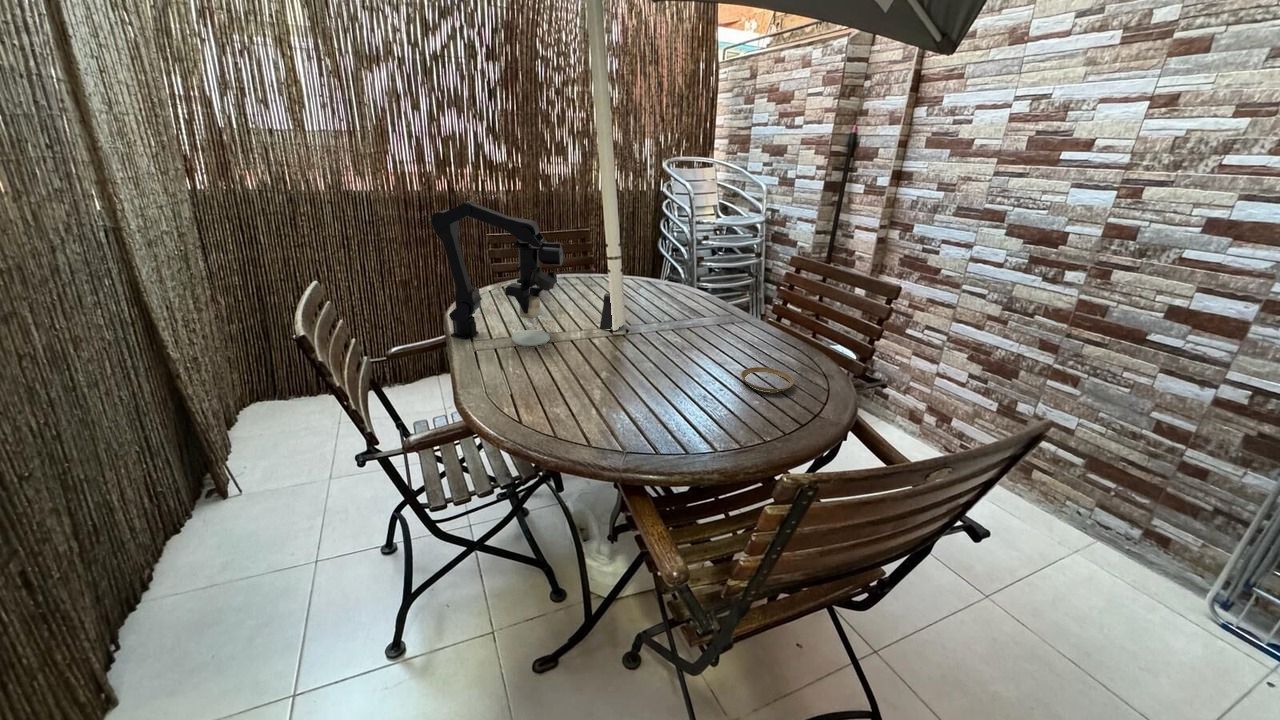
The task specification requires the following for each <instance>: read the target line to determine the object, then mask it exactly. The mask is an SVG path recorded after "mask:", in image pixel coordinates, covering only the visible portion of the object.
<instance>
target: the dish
mask: <svg viewBox="0 0 1280 720" xmlns="http://www.w3.org/2000/svg"><path fill="white" fill-rule="evenodd" d="M511 341H513V342H514V343H515V344H514V343H513V342H512V343H513V344H514V345H516V344H518V346H520V345H522V346H521V347H526V346H534V347H539V346H538V345H541V346H543V345H542V344H544V345H546V344H548V343H549V342H550V334H549V333H548V332H545V331H543V330H537V329H526V330H520V331H517V332H514V333H513V334H512V335H511ZM548 341H549V342H548ZM547 342H548V343H547ZM545 343H546V344H545Z"/></svg>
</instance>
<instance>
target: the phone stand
mask: <svg viewBox="0 0 1280 720" xmlns="http://www.w3.org/2000/svg"><path fill="white" fill-rule="evenodd" d="M610 294H611V293H604V295H603V306H602V310H601V311H602V312H601V318H600V325H599V330H600V329H611V327H612V315H611V303H610Z"/></svg>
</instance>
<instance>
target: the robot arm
mask: <svg viewBox="0 0 1280 720" xmlns="http://www.w3.org/2000/svg"><path fill="white" fill-rule="evenodd" d="M468 217H470V218H471V219H474V220H476V221H480V222H483V223H486V224H487V225H489V226H490V225H491V226H493V227H495V228H499V229H501V230H503V231H505V232H507V233H508V234H510V235H511V236H512V237H514V238H516V241H515V242H514V243H513V244H512V245H511V248H512V249H518V265H517V266H516V271H518V272H519V278H518V279H516V283H512V284H510V285H507V286H506V287H505V288H504V293H505V294H504V295H505V296H508V297H514V298H515V300H516V301H517V303H518V305H519V307H520V306H521V308H522V310H523V312H524V313H525V314H527V313H528V307H529V298H530V297H531V296H535V297H540V296H541V293H542V292H543V291H546V292H549V291H550V290H552V289H554V287H555V284H556V283H558V280H557V279H558V277H557V272H556V271H555V270H552V271H549V272H546V271H545V272H544V271H543V269H542V266H541V265H539V262H540V263H542V265H549V266H562V265H563V262H564V251H563V247H562V242H560V241H559V242H558V241H557V242H548V241H547V240H546V239H545V237H544V235H542V233H541V232H540V227H539V225H538V223H537V222H536V221H534V220H532V219H526V218H524V217H523V218H520V217H514V216H513V217H512V216H509V215H506V214H503V213H501V212H498V211H496V210H493V209H490V208H488V207H485V206H484V205H480V204H478V203H475V202H474V201H472V200H467V201H464V202H461V204H459V205H457V206H456V207H452V208H451V209H444V210H441V211H437V212H435V213H433V214H432V216H431V218H430V224H431V227H432V229H433V231H434V233H435V235H436V237H437V238H438V239H439V240H440V242H441V243H442V245H443V249H444V252H445V256H446V259H447V262H448V266H449V269H450V272H451V273H450V274H451V277H452V279H453V283H454V286H455V295H454V302H455V308H454V309H453V310H452V311H450V313H449V314H448V315H449V318H450V320H451V321H452V328H453V333H450V337H454V336H455V338H458V339H459V338H460V339H465V340H469V339H470V338H472V337H474V336H476V335H478V334H479V331H478V330H477V322H476V321H475V319H476V318H475V316H473V315H475V314H476V311H477V310H478V309H479V308H480V307H481V305H482V300H483V298H482V296H481V294H480V288H479V287H474V286H473V285H472V284H471V281H470V277H469V274H468V270H467V266H466V263H465V259H464V255H463V252H462V248H461V245H460V241H459V235H460V234H459V233H460V225H459V222H460V221H462V220H464V219H466V218H468Z"/></svg>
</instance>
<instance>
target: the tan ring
mask: <svg viewBox="0 0 1280 720" xmlns="http://www.w3.org/2000/svg"><path fill="white" fill-rule="evenodd" d="M754 372H768V373H773V374H776V375H779V376H781V377H784V378H786V379H787V380H788V381H789V382H790V386H789V387H786V388H781V389H771V388H764V387H759V386H756V385H753V384H751V383H749V382H747V381H746V380H745V377H746V376H747V375H748V374H750V373H754ZM740 376H741V379H742V381H743V382H745V384H746V385H747V384H748V385H749V386H751V387H753V388H756V389H759V390H763V391H770V392H777V391H783V392H784V390H785V391H786V389H787V390H788V389H789V388H791V387H792V386H793V385H794V382H795V381H794V379H793V377H792V376H791V375H789V374H788V373H786V372H784V371H781V370H778V369H775V368H771V367H765V366H756V367H755V366H754V367H749V368H748V367H747V368H746V369H743V370H742V371H741V373H740ZM748 385H747V386H748ZM749 386H748V387H749Z"/></svg>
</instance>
